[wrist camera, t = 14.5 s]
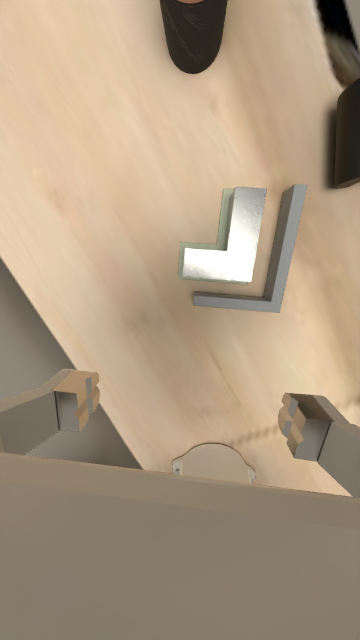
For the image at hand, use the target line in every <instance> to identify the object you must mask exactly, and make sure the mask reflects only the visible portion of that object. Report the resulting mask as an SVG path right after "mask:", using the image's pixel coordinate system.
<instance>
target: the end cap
mask: <svg viewBox="0 0 360 640" xmlns="http://www.w3.org/2000/svg"><path fill="white" fill-rule="evenodd" d="M358 182H360V78H359V79H357V80H356V81H355V82H353V83H352V84H351V85H349V86H348V87H347V88H346V89H345V90H344V91H343V92H342V94H341V95H340V96H339V98H338V101H337V125H336V152H335V180H334V187H336V188H345V187H349V186H351V185H354V184H356V183H358Z"/></svg>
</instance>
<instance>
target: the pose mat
mask: <svg viewBox="0 0 360 640" xmlns="http://www.w3.org/2000/svg"><path fill="white" fill-rule="evenodd" d="M233 191H234V189H223V196H222V205H221V214H220V222H219V231H218V239H217V245H215V244H201V243H187V242H180V256H179V271H178V279H185V280H198V281H210V282H223V283H235V284H248V282H245V281H233V280H220V279H207V278H194V277H183V270H184V256H185V248H189V249H203V250H217V251H223V248H224V240H225V232H226V224H227V216H228V208H229V200H230V196H231V194H232V192H233Z"/></svg>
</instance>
